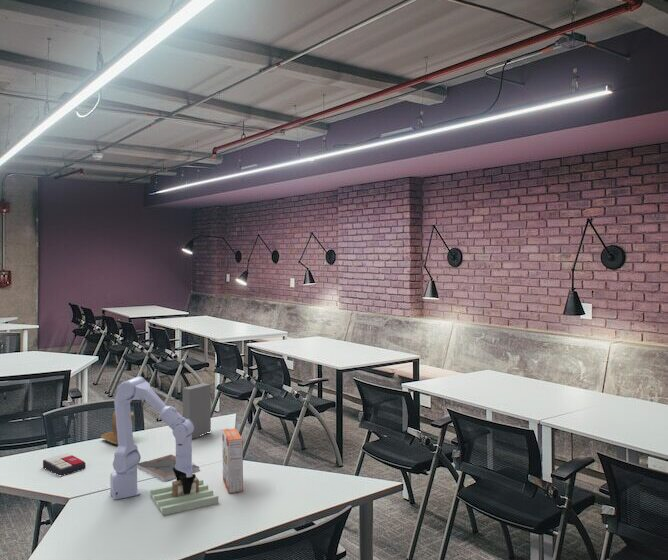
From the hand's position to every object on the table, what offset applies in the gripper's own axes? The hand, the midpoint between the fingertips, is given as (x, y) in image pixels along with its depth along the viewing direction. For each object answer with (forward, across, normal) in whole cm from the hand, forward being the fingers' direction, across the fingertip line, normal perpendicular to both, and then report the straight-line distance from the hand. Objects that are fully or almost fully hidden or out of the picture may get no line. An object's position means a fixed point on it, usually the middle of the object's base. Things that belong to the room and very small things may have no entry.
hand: (183, 489), depth 214 cm
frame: (+3, 0, -1) cm, 3 cm away
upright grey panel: (+4, +71, -27) cm, 76 cm away
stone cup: (+4, +81, +8) cm, 81 cm away
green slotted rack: (+4, 0, 0) cm, 4 cm away
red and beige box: (+4, +56, +35) cm, 66 cm away
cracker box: (+4, +3, -20) cm, 21 cm away
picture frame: (+4, +33, -3) cm, 34 cm away
